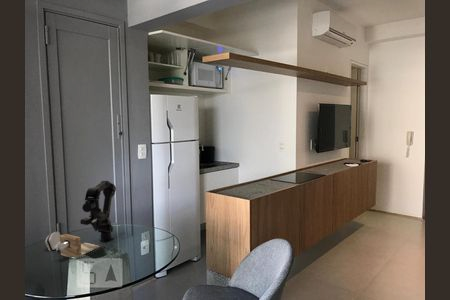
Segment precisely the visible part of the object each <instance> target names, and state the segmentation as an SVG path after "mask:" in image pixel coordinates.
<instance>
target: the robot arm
mask: <svg viewBox="0 0 450 300" xmlns="http://www.w3.org/2000/svg"><path fill="white" fill-rule="evenodd" d="M116 191H117V187H116V186H115V184H114V183H112V182H110V181H109V180H101V182H99V183H98V184H97V185H95V186H93V187H89V188H88V189H87V190H86V193H85V197H84V204H83V205H82V210H83V212H85V213H89V215H88V218H87V217H85V218H81V219H80V225H84V226H88V225H91V227H92V228H93V230H94V231H95V232H98V233H100V240H101V241H100V242H103V241H104V242H103V243H107V242H110V241H112V240H114V237H112V232H114V226H113V225H112V221H111V220H110V215H111V214H110V213H111V206H112V199H113V197H114V196H115V193H116ZM101 192H102V193H101ZM101 194H103V196H104V198H103V199H104V200H103V208H102V209H101V208H100V198H101V197H100V196H101Z"/></svg>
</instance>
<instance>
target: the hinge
mask: <svg viewBox="0 0 450 300" xmlns="http://www.w3.org/2000/svg"><path fill="white" fill-rule="evenodd" d="M61 235H62V234H60V232H59V231H54V232H51V233H50V234H49V235H47V236H46V238H45V241H44V243H45V245H46V247H47V249H48V251H49V252H51V251H52V250H53V251H54V250H55V251H57V252H58V250H59V249H58V245H59V244H60V236H61Z"/></svg>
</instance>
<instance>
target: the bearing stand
mask: <svg viewBox="0 0 450 300" xmlns="http://www.w3.org/2000/svg"><path fill="white" fill-rule="evenodd" d="M60 235H61V236H60V244H61V243H63V242H66V241H68V240H69V241H70V246H69V247H67V248H64V249H62V250H60V256H62V257H63V256H64V257H67V258H70V257H78V256H81V255H83V254H86V253H88V252H90V251H92V250H94V249H96V248H99V247H100V248H101V246H100V245H97V244H93V243H89V242H83V243H81V237H80V236H77V235H76V236H75V235H72V234H68V233H64V234H60ZM100 248H99V249H100Z"/></svg>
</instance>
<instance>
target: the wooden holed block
mask: <svg viewBox="0 0 450 300" xmlns="http://www.w3.org/2000/svg"><path fill="white" fill-rule="evenodd" d="M69 246H70V241H69V240H68V241H66V242H63V243H61V244H59V245H58V250H59V251H61V250H62V249H64V248H67V247H69Z"/></svg>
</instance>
